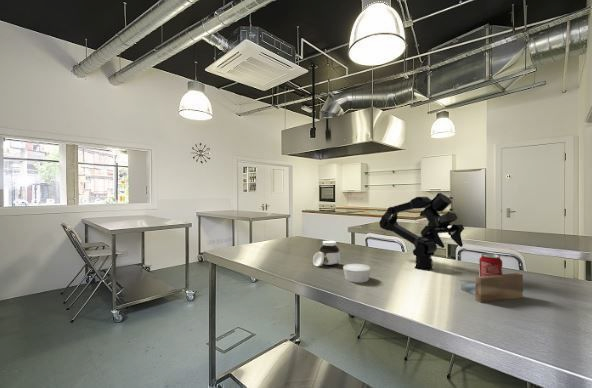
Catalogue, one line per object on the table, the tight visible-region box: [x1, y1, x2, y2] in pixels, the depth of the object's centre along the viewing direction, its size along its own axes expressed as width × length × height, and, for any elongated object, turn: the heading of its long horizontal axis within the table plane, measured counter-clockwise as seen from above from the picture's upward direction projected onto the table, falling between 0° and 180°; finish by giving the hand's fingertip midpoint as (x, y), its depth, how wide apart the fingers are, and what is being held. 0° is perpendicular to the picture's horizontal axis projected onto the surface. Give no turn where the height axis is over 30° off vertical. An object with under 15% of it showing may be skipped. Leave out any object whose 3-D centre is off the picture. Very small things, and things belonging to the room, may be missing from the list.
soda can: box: [478, 253, 503, 277], centre depth 98 cm, size 7×7×12 cm
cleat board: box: [460, 272, 524, 303], centre depth 99 cm, size 12×18×8 cm, turn 103°
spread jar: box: [312, 240, 341, 268], centre depth 136 cm, size 12×11×12 cm
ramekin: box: [342, 263, 371, 284], centre depth 114 cm, size 11×11×5 cm
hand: (452, 246), depth 115 cm, fingers open, 9 cm apart
